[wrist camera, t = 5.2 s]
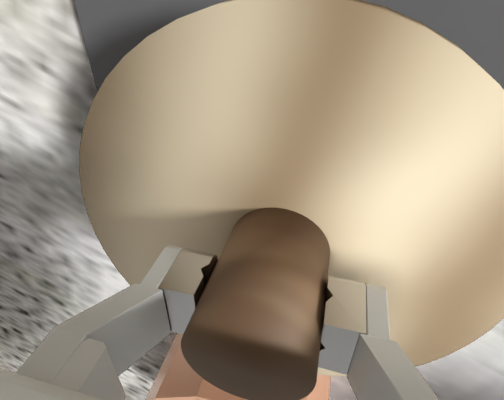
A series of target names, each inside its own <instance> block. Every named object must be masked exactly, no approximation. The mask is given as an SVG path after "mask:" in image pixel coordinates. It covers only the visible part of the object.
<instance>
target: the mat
mask: <svg viewBox="0 0 504 400" xmlns="http://www.w3.org/2000/svg"><path fill="white" fill-rule="evenodd" d="M74 1H75V5H76V9H77V13H78V17H79V21H80V24H81V28H82V32H83V36H84V40H85V44H86V48H87V52H88V56H89V60H90V64H91V68H92V72H93V76H94V80H95V84H96V88H97V92H98V91H99V89H100V87H101V85H102V84H103V82H104V80H105V78H106V77H107V76H108V75H109V74H110V72H111V71H112V70H113V69H114V68H115V66H116V65H117V64H118V63H119V62H120V60H121V59H122V58H123V57H124V56H125V55H126V54H127V53H128V52H130V51H131V50H132V49H133V48H134V47H136V46H137V45H138V44H139V43H140V42H142V41H143V40H144V39H145V38H146V37H147V36H149V35H151V34H152V33H154V32H156V31H157V30H159V29H161V28H163V27H164V26H166V25H168V24H169V23H171V22H173V21H175V20H176V19H178V18H181V17H184V16H186V15H189V14H191V13H194V12H197V11H199V10H202V9H205V8H207V7H210V6H213V5H216V4H218V3H221V2H224V1H227V0H74ZM363 1H366V2H370V3H374V4H378V5H382V6H385V7H387V8H389V9H392V10H394V11H396V12H399V13H401V14H403V15H405V16H408V17H410V18H412V19H415V20H417V21H419V22H421V23H423V24H425V25H426V26H428V27H430V28H431V29H433V30H434V31H436V32H437V33H439V34H440V35H442V36H444V37H445V38H447V39H448V40H450V41H451V42H453V43H454V44H456V45H457V46H458V47H459V48H461V49H462V50H463V51H464V52H465V53H466V54H467V55H468V56H469V57H470V58H472V59H473V60H474V61H475V62H476V63H477V64H478V65H479V66H480V67H482V68H483V69H484V70H485V71H486V72H487V73H488V74H489V75H490V76H491V77H492V78H493V79H494V80H495V81H496V82H498V83H499V84H500V86H501V87H502V88H503V90H504V0H363Z"/></svg>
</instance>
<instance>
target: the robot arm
mask: <svg viewBox="0 0 504 400" xmlns="http://www.w3.org/2000/svg"><path fill="white" fill-rule="evenodd" d="M217 262H218V256H217V255H215V254H211V253H206V252H202V251H197V250H192V249H188V248H182V247H178V246H173V245H168V246H166V247H165V248H164V249H163V251H162V252H161V254H160V255H159V257H158V258H157V260H156V261H155V263H154V264H153V265H152V267H151V268H150V270H149V271H148V273H147V274H146V276H145V277H144V279H143V280H142V282H141V283H140V284H133V285H131V286H129V287H127V288H126V289H124V290H122V291H120V292H118V293H116V294H115V295H113V296H111V297H109V298H107V299H105V300H103V301H102V302H100V303H98V304H96V305H94V306H92V307H91V308H89V309H87V310H85V311H83V312H81V313H79V314H78V315H76V316H74V317H72V318H70V319H68V320H66V321H65V322H63V323H61V324H59V325H57V326H55V327H54V328H53V329H52V330H51V332H50V333H49V334H48V335H47V336H46V338H45V339H44V340H43V341H42V342H41V344H40V345H39V346H38V347H37V348H36V350H35V351H34V352H33V353H32V354H31V356H30V357H29V358H28V359H27V360H26V362H25V363H24V364H23V365H22V366H21V368H20V369H19V370H18V371H17V372H16V373H14V372H11V371H7V370H4V369H1V368H0V400H125V398H126V397H125V393H124V390H123V387H122V385H121V383H120V380H119V378H118V376H119V375H120V374H122V373H123V372H124V371H125V370H127V369H128V368H129V367H130V366H132V365H133V364H134V363H135V362H136V361H138V360H139V359H140V358H141V357H143V356H144V355H145V354H146V353H148V352H149V351H150V350H151V349H153V348H154V347H155V346H156V345H157V344H159V343H160V342H161V341H162V340H164V339H165V338H166V337H167V336H169V335H170V334H171V332H175V333H180V334H184V332H185V329H186V327H187V325H188V323H189V321H190V319H191V317H192V315H193V313H194V310H195V308H196V306H197V304H198V302H199V300H200V298H201V296H202V293H203V291H204V289H205V287H206V285H207V283H208V281H209V279H210V276H211V274H212V272H213V270H214V268H215V266H216V264H217ZM324 303H325V307H324V313H323V320H322V329H321V344H320V354H319V363H318V367H319V368H323V369H327V370H330V371H334V372H338V373H341V374H345V375H347V378H348V380H349V382H350V385H351V387H352V389H353V391H354V393H355V395H356V397H357V400H439V399H438V398H437V396H436V395H435V393H434V392H433V391H432V389H431V388H430V387H429V385H428V384H427V383H426V381H425V380H424V378H423V377H422V376H421V374H420V373H419V372H418V370H417V369H416V367H415V366H414V365H413V363H412V362H411V361H410V359H409V358H408V357H407V355H406V354H405V352H404V351H403V350H402V348H401V347H400V346H399V344H398V343H397V342H396V341H392V340H390V327H389V314H388V302H387V290H386V288H385V287H384V286H379V285H373V284H368V283H363V282H357V281H352V280H347V279H341V278H336V277H330V276H328V279H327V284H326V292H325V301H324Z"/></svg>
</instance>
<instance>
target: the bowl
mask: <svg viewBox="0 0 504 400" xmlns="http://www.w3.org/2000/svg"><path fill="white" fill-rule="evenodd" d="M182 336H183V334H180V333H177V334H176V336H175V338H174V340H173V342H172V345H171V347H170V349H169V351H168V353H167V355H166V357H165V359H164V362H163V364H162V366H161V368H160V370H159V372H158V374H157V376H156V378H155V381H154V383H153V385H152V387H151V389H150V391H149V393H148V395H147V398H146V400H247V399H244V398H240V397H237V396H235V395H232V394H230V393H227V392H225V391H223V390H221V389H219V388H217V387H215V386H214V385H212V384H210V383H209V382H207V381H206V380H205V379H203V378H202V377H201V376H199V375H198V374H197V373H196V372H195V371H194V370H193V369H192V368H191V367H190V365H189V364H188V363H187V361H186V360H185V358H184V356H183V354H182V350H181V339H182ZM330 379H331V376H327V375H317V382H316V385H315V388H314V389H313V391H312V392H311V393H310V394H309V395H308V396H306V397H304V398H303V399H300V400H329V396H330Z"/></svg>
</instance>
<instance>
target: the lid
mask: <svg viewBox="0 0 504 400" xmlns="http://www.w3.org/2000/svg"><path fill="white" fill-rule="evenodd" d="M79 173H80V181H81V189H82V195H83V199H84V203H85V206H86V210H87V214H88V216H89V219H90V221H91V224H92V226H93V229H94V231H95V234H96V236H97V238H98V239H99V241H100V243H101V245H102V247H103V249H104V251H105V252H106V254H107V255H108V257H109V258H110V260H111V261H112V263H113V264H114V266H115V267H116V269H117V270H118V271H119V272H120V274H121V275H122V276H123V277H124V278H125V280H126V281H127V282H128V283H129V284H130V286H131V285H133V284H140V283H141V282H142V280H143V279H144V277H145V276H146V274H147V273H148V271H149V270H150V268H151V267H152V265H153V264H154V263H155V261H156V260H157V258H158V257H159V255H160V254H161V252H162V251H163V249H164V248H165V247H166V246H168V245H173V246H178V247H182V248H188V249H192V250H197V251H202V252H206V253H211V254H215V255H217V256H218V262H217V264H216V266H215V268H214V270H213V272H212V274H211V276H210V279H209V281H208V283H207V285H206V287H205V289H204V291H203V293H202V296H201V298H200V300H199V302H198V304H197V306H196V308H195V310H194V313H193V315H192V317H191V319H190V321H189V323H188V325H187V327H186V329H185V332H184V334H183V336H182V339H181V350H182V354H183V356H184V358H185V360H186V361H187V363H188V364H189V365H190V367H191V368H192V369H193V370H194V371H195V372H196V373H197V374H198V375H199V376H201V377H202V378H203V379H205V380H206V381H207V382H209V383H210V384H212V385H214V386H215V387H217V388H219V389H221V390H223V391H225V392H227V393H230V394H232V395H235V396H237V397H240V398H244V399H247V400H300V399H303V398H304V397H306V396H308V395H309V394H310V393H311V392H312V391H313V389H314V388H315V385H316V382H317V375H327V376H347V375H345V374H341V373H338V372H334V371H330V370H327V369H323V368H319V367H318V363H319V354H320V344H321V329H322V320H323V313H324V307H325V303H324V301H325V292H326V284H327V279H328V276H330V277H336V278H341V279H347V280H352V281H357V282H363V283H368V284H373V285H379V286H384V287H385V288H386V290H387V302H388V314H389V327H390V340H392V341H396V342H397V343H398V344H399V346H400V347H401V348H402V350H403V351H404V352H405V354H406V355H407V357H408V358H409V359H410V361H411V362H412V363H413V365H414V366H419V365H423V364H426V363H429V362H431V361H434V360H437V359H439V358H442V357H444V356H447V355H449V354H451V353H453V352H455V351H457V350H459V349H461V348H463V347H465V346H467V345H469V344H470V343H472V342H473V341H475V340H476V339H478V338H479V337H481V336H482V335H484V334H485V333H487V332H488V331H490V330H491V329H492V328H493V327H494V326H495V325H496V324H498V323H499V322H500V321H501V320H502V319H503V318H504V90H503V88H502V87H501V86H500V84H499V83H498V82H496V81H495V80H494V79H493V78H492V77H491V76H490V75H489V74H488V73H487V72H486V71H485V70H484V69H483V68H482V67H480V66H479V65H478V64H477V63H476V62H475V61H474V60H473V59H472V58H470V57H469V56H468V55H467V54H466V53H465V52H464V51H463V50H462V49H461V48H459V47H458V46H457V45H456V44H454V43H453V42H451V41H450V40H448V39H447V38H445V37H444V36H442V35H440V34H439V33H437V32H436V31H434V30H433V29H431V28H430V27H428V26H426V25H425V24H423V23H421V22H419V21H417V20H415V19H412V18H410V17H408V16H405V15H403V14H401V13H399V12H396V11H394V10H392V9H389V8H387V7H385V6H382V5H378V4H374V3H370V2H366V1H363V0H227V1H224V2H221V3H218V4H216V5H213V6H210V7H207V8H205V9H202V10H199V11H197V12H194V13H191V14H189V15H186V16H184V17H181V18H178V19H176V20H175V21H173V22H171V23H169V24H168V25H166V26H164V27H163V28H161V29H159V30H157V31H156V32H154V33H152V34H151V35H149V36H147V37H146V38H145V39H144V40H143V41H142V42H140V43H139V44H138V45H137V46H136V47H134V48H133V49H132V50H131V51H130V52H128V53H127V54H126V55H125V56H124V57H123V58H122V59H121V60H120V62H119V63H118V64H117V65H116V66H115V68H114V69H113V70H112V71H111V72H110V74H109V75H108V76H107V77H106V78H105V80H104V82H103V84H102V85H101V87H100V89H99V91H98V93H97V94H96V96H95V98H94V100H93V101H92V104H91V107H90V109H89V112H88V115H87V118H86V121H85V123H84V127H83V133H82V138H81V144H80V158H79Z"/></svg>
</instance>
